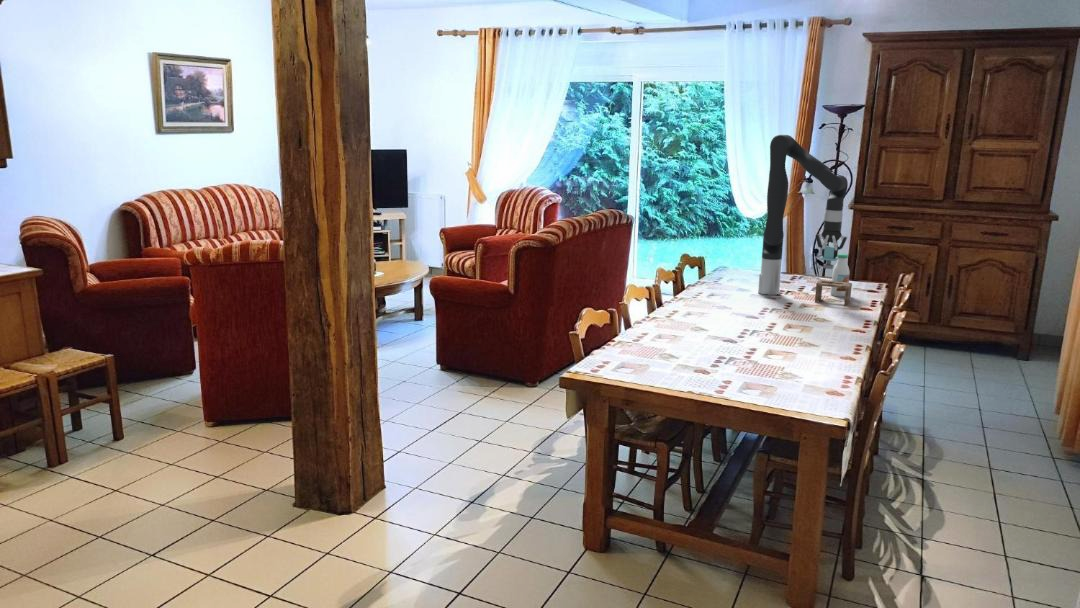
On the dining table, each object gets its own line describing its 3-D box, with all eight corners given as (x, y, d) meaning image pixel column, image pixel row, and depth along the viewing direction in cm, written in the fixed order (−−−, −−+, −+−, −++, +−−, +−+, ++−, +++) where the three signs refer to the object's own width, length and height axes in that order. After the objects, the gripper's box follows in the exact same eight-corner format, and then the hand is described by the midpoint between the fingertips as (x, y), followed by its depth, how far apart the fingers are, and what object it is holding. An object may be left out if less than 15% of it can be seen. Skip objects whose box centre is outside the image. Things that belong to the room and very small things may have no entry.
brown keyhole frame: (814, 302, 355) (816, 283, 353) (818, 298, 362) (820, 279, 360) (846, 305, 348) (848, 286, 346) (850, 302, 355) (851, 283, 353)
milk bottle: (829, 296, 368) (833, 254, 364) (831, 293, 375) (835, 252, 370) (846, 297, 365) (850, 256, 360) (848, 294, 371) (852, 253, 367)
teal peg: (819, 268, 351) (821, 247, 349) (822, 266, 356) (824, 245, 354) (834, 269, 348) (836, 248, 345) (837, 267, 353) (839, 246, 351)
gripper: (851, 220, 347) (847, 258, 350) (818, 218, 354) (814, 255, 358) (848, 222, 340) (844, 260, 344) (815, 219, 347) (811, 257, 351)
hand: (829, 257), depth 351 cm, fingers closed on teal peg, 4 cm apart
